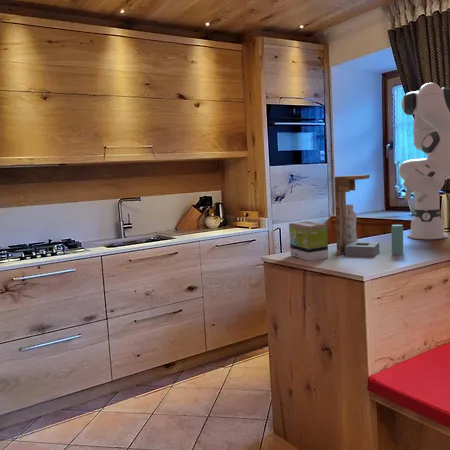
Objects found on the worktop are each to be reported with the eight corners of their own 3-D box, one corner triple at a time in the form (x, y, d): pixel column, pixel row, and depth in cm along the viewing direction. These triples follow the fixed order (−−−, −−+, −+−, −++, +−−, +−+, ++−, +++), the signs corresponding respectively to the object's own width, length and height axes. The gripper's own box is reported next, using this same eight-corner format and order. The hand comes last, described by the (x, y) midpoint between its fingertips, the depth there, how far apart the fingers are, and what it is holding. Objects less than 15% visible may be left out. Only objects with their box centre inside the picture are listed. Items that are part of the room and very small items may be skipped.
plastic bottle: (358, 249, 207) (357, 205, 205) (343, 249, 209) (341, 205, 206) (357, 246, 213) (356, 203, 211) (342, 246, 215) (341, 204, 212)
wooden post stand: (343, 250, 206) (341, 175, 203) (371, 251, 201) (369, 174, 197) (336, 255, 196) (334, 176, 192) (365, 256, 190) (363, 175, 186)
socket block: (351, 250, 205) (351, 241, 204) (379, 251, 199) (379, 242, 199) (345, 255, 194) (344, 246, 194) (374, 256, 189) (374, 247, 188)
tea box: (289, 256, 201) (288, 222, 199) (308, 253, 205) (307, 220, 203) (308, 261, 187) (307, 225, 185) (329, 258, 191) (328, 223, 189)
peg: (393, 252, 194) (392, 224, 193) (403, 252, 193) (402, 224, 191) (391, 254, 191) (391, 225, 190) (402, 254, 189) (401, 226, 188)
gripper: (441, 171, 185) (420, 199, 191) (413, 162, 173) (392, 192, 179) (453, 179, 181) (431, 208, 187) (425, 171, 169) (403, 201, 175)
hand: (412, 200), depth 183 cm, fingers open, 8 cm apart
